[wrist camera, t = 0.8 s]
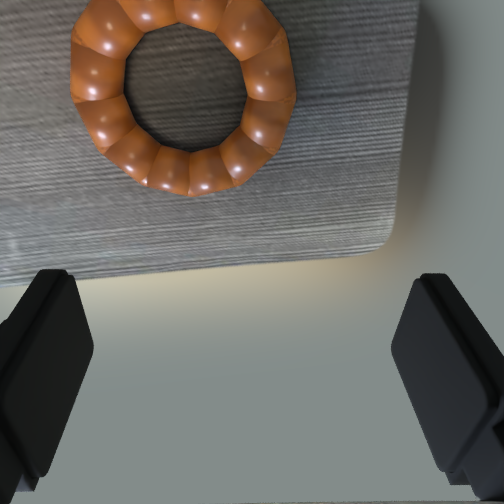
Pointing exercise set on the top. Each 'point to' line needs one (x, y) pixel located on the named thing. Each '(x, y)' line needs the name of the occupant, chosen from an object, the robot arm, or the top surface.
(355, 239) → the top surface
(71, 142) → the top surface
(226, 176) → the glossy orange segmented ring
